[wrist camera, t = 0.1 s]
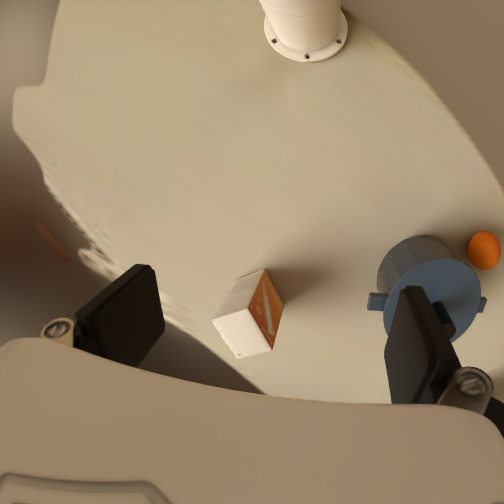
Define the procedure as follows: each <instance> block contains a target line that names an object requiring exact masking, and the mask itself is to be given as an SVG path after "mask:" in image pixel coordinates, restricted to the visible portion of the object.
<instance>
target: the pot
mask: <svg viewBox="0 0 504 504" xmlns="http://www.w3.org/2000/svg"><path fill="white" fill-rule="evenodd" d="M439 257H450V258H455V259H458V260H460V259H459V258H458V257H457V256H456V254H455V253H454V252H453V251H452V250H451V249H450V248H449V247H448V246H447V245H446V244H444V243H443V242H441V241H440V240H438V239H436V238H433V237H429V236H415V237H411V238H408V239H406V240H404V241H402V242H400V243H399V244H397V245H396V246H394V247H393V248H392V249H391V250H390V251H389V252H388V254H387V255H386V256H385V258H384V259H383V261H382V263H381V265H380V268H379V271H378V275H377V288H378V292H379V293H369V298H368V304H367V309H368V310H376V311H384V306H385V303H386V300H387V297H388V295H389V293H390V291H391V290H392V288H393V286H394V285H395V284H396V282H397V281H398V280H399V279H400V278H401V277H402V276H403V275H404V274H405V273H406V272H407V271H409V270H410V269H411V268H413V267H414V266H416V265H418V264H420V263H422V262H424V261H426V260H429V259H433V258H439ZM486 302H487V299H486V298H485V297H481V300H480V305H479V308H478V311H477V313H482V312H483V310H484V307H485V304H486Z"/></svg>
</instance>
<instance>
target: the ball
mask: <svg viewBox="0 0 504 504" xmlns="http://www.w3.org/2000/svg"><path fill="white" fill-rule="evenodd" d="M500 254H501V248H500V244H499V241H498V239H497V238H496V237H495V236H494V235H493V234H491V233H489V232H479V233H477V234H475V235H474V236H473V237H472V239H471V240H470V242H469V246H468V256H469V259H470V261H471V263H472V264H473V265H474V266H475V267H476V268H478V269H480V270H488V269H491V268H493V267H494V266H495V265H496V264H497V262H498V260H499V258H500Z"/></svg>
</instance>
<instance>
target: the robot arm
mask: <svg viewBox="0 0 504 504" xmlns="http://www.w3.org/2000/svg"><path fill="white" fill-rule="evenodd" d="M341 1H342V0H259V2H260V4H261V6H262V8H263V10H264V11H265V13H266V17H265V20H264V30H265V34H266V37H267V39H268V41H269V43H270V44H271V45H272V47H273V48H274V49H275V50H276V51H277V52H279V53H280V54H281V55H283V56H285V57H287V58H289V59H292V60H295V61H299V62H318V61H322V60H326V59H328V58H330V57H332V56H333V55H335V54H336V53H337V52H339V50H340V49H341V48H342V47H343V45H344V43H345V42H346V38H347V34H348V25H347V21H346V18H345V16H344V14H343V13H342V11H341V10H340V9H341ZM275 41H277V43H274V42H275ZM337 42H340V44H338V43H337ZM307 56H308V57H310V58H309V59H307V58H306V57H307ZM74 315H75V318H76V320H77V323H76V324H75V325H74V323H73V321H72V320H70V319H68V318H58V319H55V320H52V321H50V322H48V323H47V324H46V325H44V326H43V328H42V329H41V331H40V335H39V338H20V339H15V340H12V341H10V342H8V343H7V344H5V345H4V346H3V347H1V348H0V504H504V403H502V402H500V401H498V400H497V399H495V398H493V397H492V393H493V388H494V387H493V382H492V380H491V379H490V377H489V376H488V375H487V374H486V373H485V372H484V371H482V370H481V369H478V368H475V367H469V366H468V367H462V366H461V364H460V362H459V359H458V357H457V355H456V353H455V350H454V348H453V346H452V344H451V341H450V339H449V337H448V335H447V333H446V331H445V329H444V327H443V325H442V323H441V322H440V320H439V318H438V316H437V314H436V312H435V310H434V308H433V306H432V304H431V302H430V300H429V299H428V297H427V295H426V293H425V291H424V289H423V287H422V286H413V285H407V286H406V287H405V289H401V290H400V293H399V297H398V301H397V306H396V310H395V314H394V317H393V321H392V325H391V329H390V332H389V336H388V339H387V343H386V346H385V351H384V358H385V363H386V369H387V375H388V381H389V388H390V394H391V401H392V404H381V403H343V402H326V401H313V400H302V399H292V398H283V397H275V396H268V395H261V394H253V393H247V392H241V391H234V390H229V389H224V388H218V387H213V386H208V385H203V384H198V383H194V382H189V381H185V380H180V379H176V378H172V377H168V376H164V375H160V374H156V373H152V372H148V371H145V370H141V369H137V367H138V365H139V364H140V362H141V361H142V360H143V359H144V357H145V356H146V355H147V353H148V352H149V351H150V349H151V348H152V347H153V346H154V344H155V343H156V342H157V340H158V339H159V338H160V336H161V335H162V334H163V332H164V330H165V322H164V317H163V312H162V307H161V302H160V297H159V292H158V286H157V281H156V275H155V271H154V270H153V269H152V268H151V266H150V265H144V264H135V265H134V266H132V267H131V268H130V269H129V270H127V271H126V272H125V273H124V274H122V275H121V276H120V277H119V278H117V279H116V280H115V281H114V282H112V283H111V284H110V285H109V286H108V287H106V288H105V289H104V290H103V291H101V292H100V293H99V294H98V295H97V296H95V297H94V298H93V299H92V300H91V301H89V302H88V303H87V304H86V305H85V306H83V307H82V308H81V309H80V310H79V311H77V312H76V313H75V314H74Z"/></svg>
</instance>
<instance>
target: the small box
mask: <svg viewBox="0 0 504 504" xmlns="http://www.w3.org/2000/svg"><path fill="white" fill-rule="evenodd" d="M283 307H284V304H283V302H282V301H281V299H280V297H279V295H278V293H277V291H276V290H275V288H274V286H273V284H272V282H271V280H270V278H269V276H268V274H267V272H266V270H265V269H263V270H260V271H258V272H255V273H252V274H250V275H247V276H244V277H242V278H239V279H237V280H235V281H234V283H233V284H232V286H231V288H230V289H229V291H228V293H227V294H226V296H225V298H224V299H223V301H222V303H221V304H220V306H219V308H218V310H217V311H216V313H215V315H214V316H213V318H212V322H213V323H214V325H215V327H216V328H217V330H218V331H219V333H220V334H221V336H222V338H223V340H224V341H225V343H226V344H227V345H228V346H229V348H230V349H231V351H232V352H233V354H234V355H235V357H236V358H237V359H239V358H244V357H248V356H252V355H256V354H260V353H264V352H268V351H272V349H273V345H274V342H275V338H276V334H277V330H278V327H279V323H280V319H281V315H282V311H283Z"/></svg>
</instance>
